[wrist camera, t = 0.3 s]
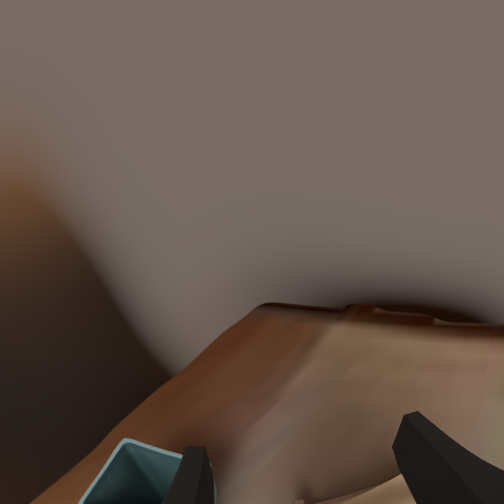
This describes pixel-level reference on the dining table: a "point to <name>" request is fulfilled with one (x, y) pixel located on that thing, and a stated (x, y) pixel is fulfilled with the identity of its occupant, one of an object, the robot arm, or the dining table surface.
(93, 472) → the dining table surface
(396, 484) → the offcut board upper
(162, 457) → the flower pot
